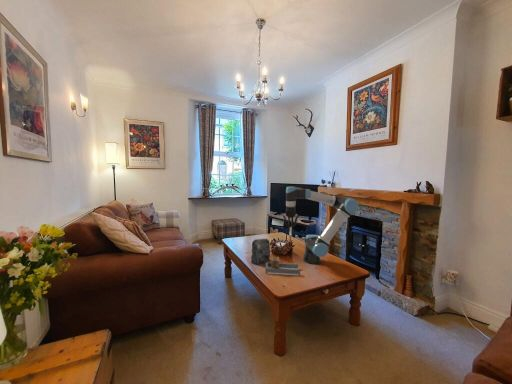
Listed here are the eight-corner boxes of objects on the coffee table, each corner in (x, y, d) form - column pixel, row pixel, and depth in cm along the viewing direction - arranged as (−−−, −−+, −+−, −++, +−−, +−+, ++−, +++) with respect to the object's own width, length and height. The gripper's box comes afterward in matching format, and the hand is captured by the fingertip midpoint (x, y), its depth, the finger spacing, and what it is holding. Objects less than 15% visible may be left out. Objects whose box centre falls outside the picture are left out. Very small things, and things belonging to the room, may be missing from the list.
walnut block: (278, 266, 181) (278, 257, 180) (278, 271, 173) (279, 261, 172) (271, 266, 181) (271, 256, 180) (271, 270, 173) (271, 260, 172)
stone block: (255, 265, 185) (255, 242, 183) (249, 262, 192) (249, 239, 191) (272, 261, 195) (273, 238, 193) (266, 257, 203) (267, 236, 201)
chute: (297, 268, 182) (297, 263, 181) (299, 275, 169) (299, 270, 169) (265, 266, 184) (266, 261, 183) (265, 273, 171) (265, 268, 171)
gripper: (298, 205, 181) (297, 233, 184) (282, 205, 182) (281, 233, 184) (299, 206, 174) (299, 236, 176) (282, 206, 174) (282, 236, 176)
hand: (290, 235), depth 180 cm, fingers closed
